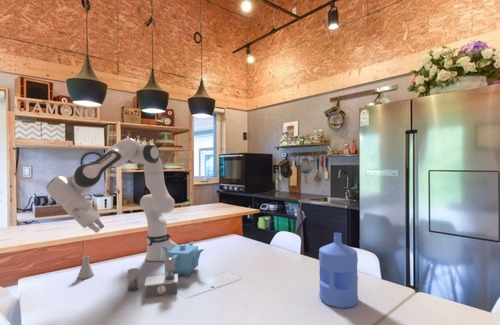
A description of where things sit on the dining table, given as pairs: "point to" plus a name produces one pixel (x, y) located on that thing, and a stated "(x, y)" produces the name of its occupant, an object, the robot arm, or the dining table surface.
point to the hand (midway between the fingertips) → (100, 229)
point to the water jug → (338, 274)
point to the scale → (160, 286)
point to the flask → (85, 269)
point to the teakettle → (184, 258)
